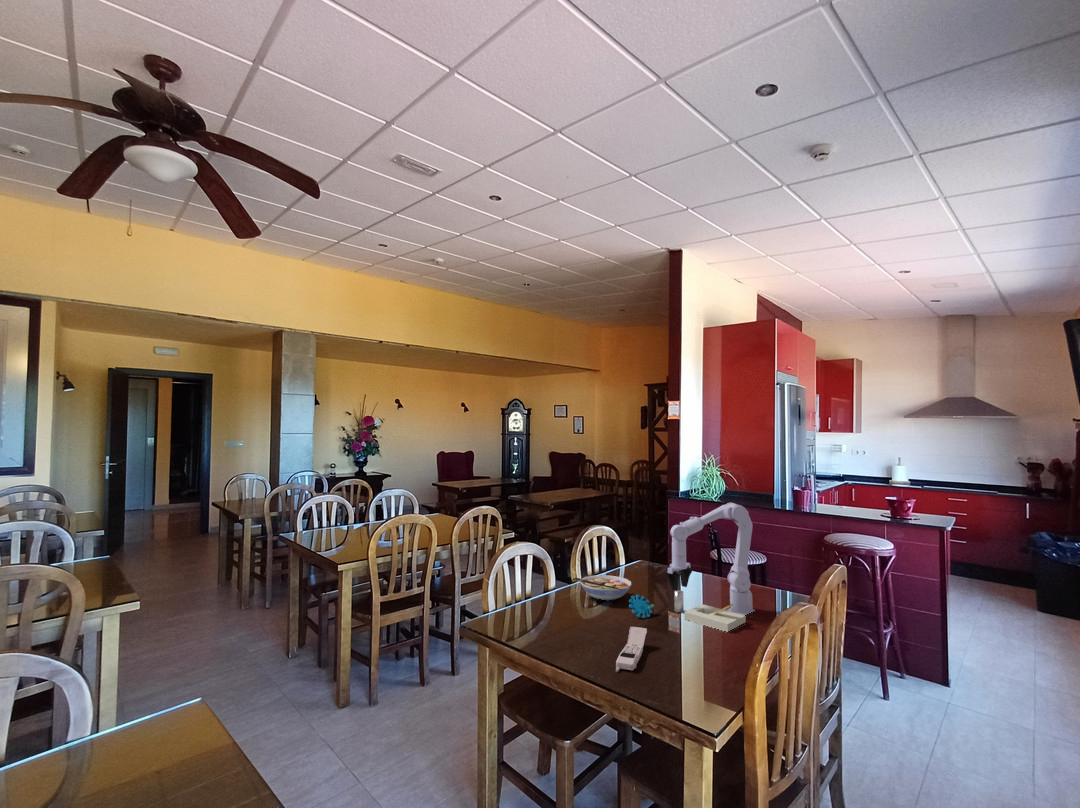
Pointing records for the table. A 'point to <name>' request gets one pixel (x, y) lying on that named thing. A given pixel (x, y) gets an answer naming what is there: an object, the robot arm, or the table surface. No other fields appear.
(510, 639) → the table surface
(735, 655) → the table surface
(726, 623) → the cream rectangular slab
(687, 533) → the robot arm
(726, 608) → the latch
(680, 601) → the peg
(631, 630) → the mobile phone
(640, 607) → the blue spiky blob
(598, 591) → the ramen bowl
